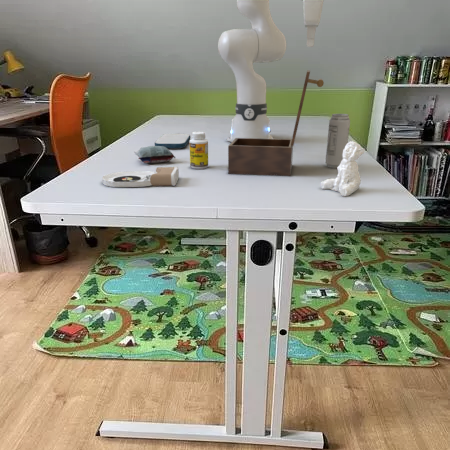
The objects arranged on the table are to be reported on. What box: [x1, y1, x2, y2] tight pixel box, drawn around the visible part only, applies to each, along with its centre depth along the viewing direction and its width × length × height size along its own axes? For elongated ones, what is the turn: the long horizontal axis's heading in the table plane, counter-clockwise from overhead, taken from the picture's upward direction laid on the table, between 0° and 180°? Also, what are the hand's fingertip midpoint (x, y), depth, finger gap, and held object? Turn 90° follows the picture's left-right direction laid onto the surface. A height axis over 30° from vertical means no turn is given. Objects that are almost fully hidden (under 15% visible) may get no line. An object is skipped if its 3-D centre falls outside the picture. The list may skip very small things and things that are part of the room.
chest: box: [227, 138, 294, 177], centre depth 135 cm, size 18×14×8 cm
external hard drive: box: [154, 133, 191, 149], centre depth 175 cm, size 24×12×2 cm, turn 178°
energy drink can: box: [324, 113, 351, 169], centre depth 137 cm, size 6×6×15 cm
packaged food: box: [133, 145, 176, 164], centre depth 146 cm, size 9×12×5 cm
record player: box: [101, 166, 180, 188], centre depth 123 cm, size 12×3×20 cm
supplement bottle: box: [188, 131, 209, 170], centre depth 137 cm, size 6×6×10 cm
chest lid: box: [291, 69, 325, 147], centre depth 127 cm, size 19×14×5 cm
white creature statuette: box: [320, 140, 366, 197], centre depth 113 cm, size 10×9×12 cm
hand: (310, 46), depth 120 cm, fingers open, 8 cm apart
